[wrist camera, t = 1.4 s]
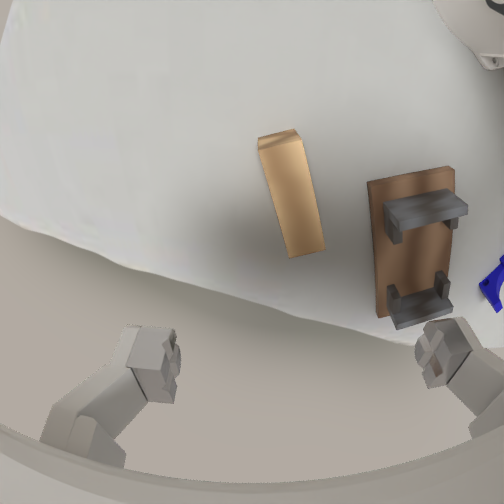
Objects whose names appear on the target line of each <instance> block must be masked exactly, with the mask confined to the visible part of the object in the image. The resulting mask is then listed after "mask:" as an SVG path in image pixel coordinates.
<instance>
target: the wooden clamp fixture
mask: <svg viewBox="0 0 504 504" xmlns="http://www.w3.org/2000/svg"><path fill="white" fill-rule="evenodd" d="M367 187H368V195H369V204H370V213H371V223H372V235H373V248H374V264H375V287H376V313H377V316H378V318H382V317H386V316H391V318H392V321H393V323H394V325H395V328H396V330H399V329H403V328H406V327H409V326H413V325H416V324H419V323H422V322H425V321H428V320H431V319H434V318H437V317H440V316H443V315H446V314H449V313H452V311H453V305H452V303H451V302H450V300H449V299H448V295H449V289H450V283H451V282H450V281H449V279H448V278H447V277H448V270H449V262H450V254H451V244H452V233H453V229H456V228H458V217H460V216H464V215H467V214H468V205H467V204H466V203H465V202H464V201H462V200H461V199H460V198H459V197H458V196H456V195H455V170H454V169H453V168H451V167H450V166H445V167H439V168H434V169H429V170H423V171H418V172H413V173H408V174H403V175H398V176H393V177H388V178H383V179H378V180H374V181H369V182H367Z"/></svg>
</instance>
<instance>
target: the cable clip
mask: <svg viewBox="0 0 504 504" xmlns="http://www.w3.org/2000/svg"><path fill="white" fill-rule="evenodd" d="M500 261H501V264H500V265H499V266H498V267H497V268H496V269H495V270H494V271H492V272H491V273H490V274H489V275H488V276H487V277H486V278H485V279H484V280H483V281H482V282H480V283H479V286H480V288H481V291H482V293H483V294H484V295H485V297H486V298H487V300H488V301H489V303H490V304H491V306H492V307H493V308H494V310H495V311H496V313H498V312H499V311H500V310H501V309H502V308H503V307H502V304H501V301H500V299H499V292H500V288H501V285H502V283H503V281H504V255H503V256H502V257H501V258H500Z"/></svg>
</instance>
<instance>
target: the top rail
mask: <svg viewBox="0 0 504 504" xmlns="http://www.w3.org/2000/svg"><path fill="white" fill-rule="evenodd" d="M258 152H259V155H260V159H261V162H262V165H263V169H264V172H265V175H266V179H267V182H268V185H269V189H270V192H271V196H272V199H273V202H274V206H275V209H276V213H277V216H278V220H279V223H280V227H281V230H282V234H283V238H284V241H285V245H286V248H287V252H288V256H289V258H293V257H298V256H302V255H306V254H310V253H315V252H319V251H323V250H326V248H325V243H324V238H323V232H322V227H321V222H320V217H319V213H318V208H317V203H316V198H315V194H314V189H313V185H312V180H311V176H310V172H309V168H308V163H307V159H306V155H305V151H304V147H303V143H302V139H301V138H300V136H299V135H298V134H297V132H296V131H295V129H291V130H287V131H283V132H279V133H275V134H271V135H267V136H263V137H259V138H258Z"/></svg>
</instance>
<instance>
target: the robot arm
mask: <svg viewBox="0 0 504 504" xmlns="http://www.w3.org/2000/svg"><path fill="white" fill-rule="evenodd" d="M432 2H433V4H434V6H435V8H436V10H437V12H438V14H439V16H440V17H441V19H442V21H443V22H444V23H445V25H446V26H447V27H448V29H449V30H450V31H451V32H452V33H453V35H454V36H455V37H456V38H457V39H458V40H460V41H461V42H462V43H463V44H464V45H466V46H467V47H468V48H469V49H470V50H471V51H472V52H473V53H474V54H475V56H476V57H477V59H478V61H479V62H480V64H481V65H482V66H483V67H484V68H485V69H486V70H494V69H499V68H503V67H504V0H432ZM492 58H493V60H494V63H493V61H492ZM423 331H424V334H423V335H422V336H421V337H419V338H418V340H417V342H416V344H415V358H416V360H417V363H418V365H420V366H421V367H422V368H423V372H422V375H423V378H424V380H425V383H426V385H427V388H428V389H430V388H434V387H439V386H444V385H447V387H448V388H449V389H450V390H451V391H452V392H453V393H454V394H455V395H456V396H457V397H458V398H459V399H460V400H461V401H462V402H463V403H464V404H465V405H466V406H467V407H468V408H469V409H470V410H471V411H472V412H473V413H474V414H475V415H476V416H477V418H476V419H475V420H474V421H473V422H471V423H470V425H469V427H468V428H469V431H470V433H471V436H472V440H469V441H467V442H464V443H462V444H460V445H457V446H455V447H452V448H449V449H446V450H444V451H441V452H438V453H435V454H432V455H429V456H426V457H423V458H420V459H416V460H413V461H409V462H406V463H402V464H399V465H395V466H391V467H387V468H383V469H378V470H373V471H369V472H364V473H359V474H353V475H347V476H341V477H334V478H327V479H318V480H308V481H296V482H280V483H226V482H209V481H198V480H187V479H180V478H172V477H165V476H159V475H153V474H148V473H142V472H137V471H133V470H128V469H124V463H125V458H126V453H125V451H124V450H123V449H122V448H121V447H120V446H119V445H118V444H117V443H116V442H115V441H114V439H115V438H116V437H117V436H118V435H119V434H120V433H121V432H122V431H123V429H124V428H125V427H126V426H127V425H128V424H129V423H130V422H131V421H132V420H133V419H134V418H135V416H136V415H137V414H138V413H139V412H140V411H141V410H142V409H143V408H144V407H145V406H146V404H147V403H148V402H147V401H150V402H159V403H171V404H174V399H175V394H176V389H177V385H176V382H175V378H176V377H177V376H178V375H179V373H180V367H181V354H180V348H179V346H178V345H177V344H175V342H176V338H177V336H176V333H175V330H174V329H171V328H161V327H149V326H138V325H128V324H127V325H126V326H125V327H124V329H123V331H122V334H121V337H120V339H119V341H118V344H117V346H116V349H115V352H114V354H113V357H112V359H111V362H110V364H109V365H104V366H102V367H101V368H100V369H99V370H97V371H96V372H95V373H93V374H92V375H91V376H90V377H88V378H87V379H86V380H84V381H83V382H82V383H81V384H79V385H78V386H77V387H75V388H74V389H73V390H72V391H70V392H69V393H68V394H66V395H65V396H64V397H63V398H61V399H60V400H59V401H58V402H56V403H55V404H54V405H53V406H52V408H51V411H50V413H49V416H48V418H47V421H46V424H45V426H44V429H43V432H42V435H41V438H40V440H39V441H37V440H35V439H32V438H30V437H28V436H25V435H23V434H21V433H19V432H17V431H15V430H12V429H11V428H8V427H6V426H5V425H2V424H0V504H504V360H503V359H501V358H500V357H498V356H497V355H496V354H494V353H493V352H491V351H490V350H488V349H487V348H483V347H482V345H481V343H480V342H479V340H478V338H477V337H476V335H475V333H474V332H473V330H472V328H471V327H470V325H469V324H468V322H467V321H466V319H465V318H463V317H456V318H448V319H441V320H434V321H429V322H428V323H426V325H425V327H424V328H423Z"/></svg>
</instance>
